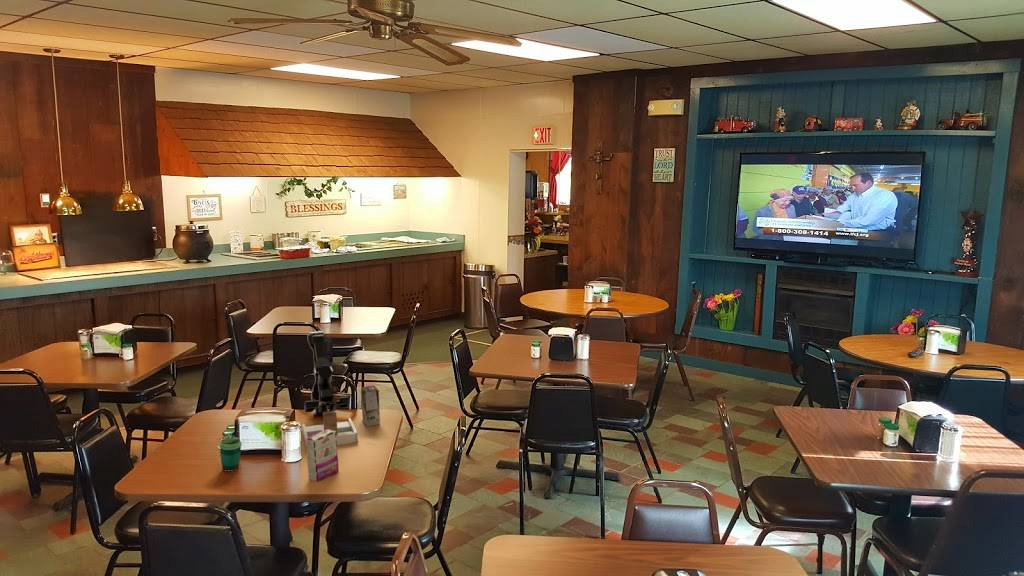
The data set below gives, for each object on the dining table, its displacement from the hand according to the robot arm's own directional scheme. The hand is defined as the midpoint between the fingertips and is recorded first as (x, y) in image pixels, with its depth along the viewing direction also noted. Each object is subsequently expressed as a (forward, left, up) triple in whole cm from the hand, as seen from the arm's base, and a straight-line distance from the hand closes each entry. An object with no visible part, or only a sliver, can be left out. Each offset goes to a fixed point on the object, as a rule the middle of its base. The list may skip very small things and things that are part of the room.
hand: (329, 421), depth 309 cm
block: (+3, +1, -5) cm, 6 cm away
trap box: (-2, -1, -8) cm, 8 cm away
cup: (+31, -30, -8) cm, 44 cm away
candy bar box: (+38, +7, -8) cm, 40 cm away
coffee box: (-21, +14, -8) cm, 26 cm away
